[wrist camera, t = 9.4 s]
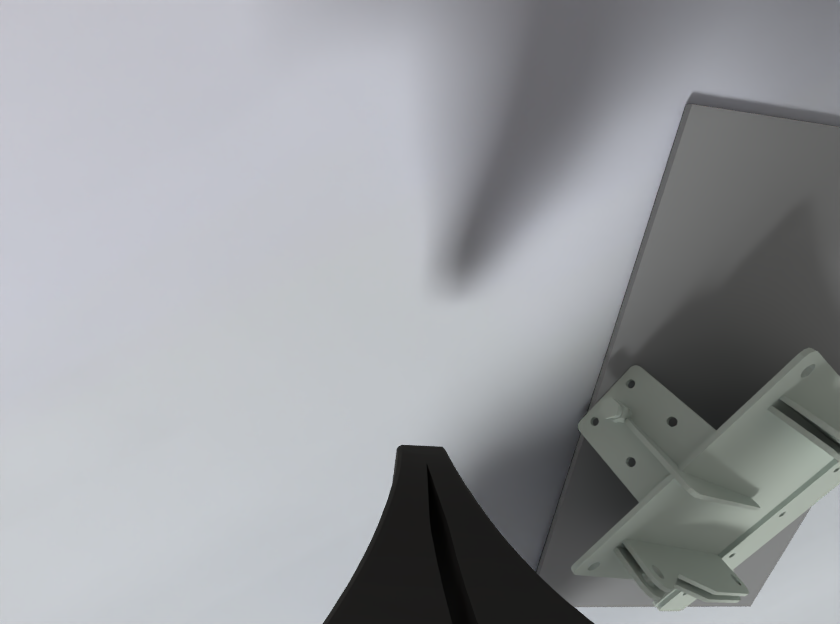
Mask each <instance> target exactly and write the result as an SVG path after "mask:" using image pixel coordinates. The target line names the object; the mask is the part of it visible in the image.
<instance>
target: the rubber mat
mask: <svg viewBox="0 0 840 624" xmlns="http://www.w3.org/2000/svg"><path fill="white" fill-rule="evenodd" d="M807 348H812V349H814V350H816V351H818V352H819V353H820V354H821V356H822V357H823V358H824V359H825V360H826V361H827V363H828V364H829V365H830V366H831V367H832V368H833V369H834V371H835V372H836V373H837V374H838V375H839V376H840V127H838V126H831V125H825V124H818V123H812V122H805V121H799V120H792V119H786V118H780V117H773V116H767V115H760V114H754V113H747V112H741V111H734V110H728V109H721V108H715V107H708V106H702V105H695V104H687V105H686V107H685V110H684V113H683V116H682V119H681V122H680V125H679V128H678V132H677V135H676V138H675V141H674V144H673V147H672V150H671V153H670V157H669V160H668V163H667V166H666V169H665V172H664V175H663V178H662V182H661V185H660V188H659V191H658V194H657V197H656V200H655V203H654V206H653V210H652V213H651V216H650V219H649V222H648V225H647V228H646V231H645V235H644V238H643V241H642V244H641V247H640V250H639V253H638V256H637V260H636V263H635V266H634V269H633V272H632V275H631V278H630V281H629V285H628V288H627V291H626V294H625V297H624V300H623V303H622V306H621V309H620V313H619V316H618V319H617V322H616V325H615V328H614V331H613V334H612V338H611V341H610V344H609V347H608V350H607V353H606V356H605V359H604V363H603V366H602V369H601V372H600V375H599V378H598V381H597V384H596V388H595V391H594V394H593V397H592V400H591V403H590V406H589V409H588V412H589V411H590V410H591V409H592V408H593V407H594V406H595V404H596V403H597V402H598V401H599V400H600V399H601V398H602V397H603V396H604V395H605V394H606V393H607V392H608V391H609V390H610V388H611V387H612V386H613V385H614V384H615V383H616V382H617V381H618V380H619V379H620V378H621V377H622V376H623V375H624V374H625V372H626V371H627V370H628V369H629V368H630V367H632V366H634V365H638V366H640V367H642V368H643V369H644V370H645V371H647V372H648V373H649V374H650V375H651V376H653V377H654V378H655V379H656V380H657V381H658V382H660V383H661V384H662V385H663V386H664V387H666V388H667V389H668V390H669V391H670V392H672V393H673V394H674V395H675V396H676V397H677V398H679V399H680V400H681V401H682V402H683V403H685V404H686V405H687V406H688V407H689V408H690V409H692V410H693V411H694V412H695V413H696V414H698V415H699V416H700V417H701V418H702V419H703V420H705V421H706V422H707V423H708V424H709V425H711V426H712V427H713V428H714V429H715V430H717V429H719V428H720V427H721V426H722V425H723V424H724V423H725V422H726V421H727V420H728V419H729V418H730V417H731V416H732V415H734V414H735V413H736V412H737V411H738V410H739V409H740V408H741V407H742V406H743V405H744V404H745V403H746V402H747V401H748V400H750V399H751V398H752V397H753V396H754V395H755V394H756V393H757V392H758V391H759V390H760V389H761V388H762V387H763V386H765V385H766V384H767V383H768V382H769V381H770V380H771V379H772V378H773V377H774V376H775V375H776V374H777V373H778V372H780V371H781V370H782V369H783V368H784V367H785V366H786V365H787V364H788V363H789V362H790V361H791V360H792V359H793V358H795V357H796V356H797V355H798V354H799V353H800V352H801V351H803V350H804V349H807ZM805 369H806V368H805ZM805 369H804V370H805ZM634 386H635V381H630V382H629V384H628V387H629V388H633V387H634ZM588 412H587V413H588ZM598 423H599V420H598V418H595V419H594V420H593V425H594V426H596V425H598ZM669 425H670V427H674V426H676V425H677V419H676V418H671V419H670V420H669ZM628 464H629V466H630V467H634V466H635V464H636V461H635V459H634V458H630V459H629V461H628ZM638 503H639V502H638V501H637V499H636V498H635V497H634V496H633V495H632V493H631V492H630V491H629V490H628V489H627V487H626V486H625V485H624V484H623V483H622V481H621V480H620V479H619V478H618V477H617V475H616V474H615V473H614V472H613V471H612V469H611V468H610V467H609V466H608V465H607V463H606V462H605V461H604V460H603V459H602V457H601V456H600V455H599V454H598V453H597V451H596V450H595V449H594V448H593V447H592V445H591V444H590V443H589V442H588V441H587V439H586V438H585V437H584V436H583V435H582V433H581V434H580V437H579V441H578V444H577V447H576V450H575V453H574V456H573V459H572V462H571V466H570V469H569V472H568V475H567V478H566V481H565V484H564V487H563V491H562V494H561V497H560V500H559V503H558V506H557V509H556V512H555V515H554V519H553V522H552V525H551V528H550V531H549V534H548V537H547V540H546V544H545V547H544V550H543V553H542V556H541V559H540V562H539V565H538V569H537V572H536V573H537V574H538V575H539V576H540V577H541V578H542V579H543V580H544V581H545V582H546V583H548V584H549V585H550V586H551V587H552V588H553V589H554V590H555V591H556V592H557V593H558V594H559V595H560V596H562V597H563V598H564V599H565V600H566V601H567V602H569V603H570V604H571V605H572V606H573V607H655V606H654V604H653V601H654V600H653V599H652V598H650V597H649V596H648V595H647V594H645V592H644V591H643V590H642V589H641V588H640V587H639V586H638V584H637V583H636V582H635V580H634V579H622V578H609V577H595V576H582V575H575V574H574V573H573V572H572V570H571V567H572V565H573V564H574V563H575V562H576V561H577V560H578V559H579V558H580V557H582V556H583V555H584V554H585V553H586V552H587V551H588V550H589V549H590V548H591V547H592V546H593V545H594V544H595V543H597V542H598V541H599V540H600V539H601V538H602V537H603V536H604V535H605V534H606V533H607V532H608V531H609V530H610V529H612V528H613V527H614V526H615V525H616V524H617V523H618V522H619V521H620V520H621V519H622V518H623V517H624V516H625V515H626V514H628V513H629V512H630V511H631V510H632V509H633V508H634V507H635V506H636V505H637V504H638ZM811 507H812V506H811ZM811 507H810V508H811ZM810 508H809V509H808V510H806V511H805V512H804V513H803V514H801V515H800V516H799V517H798V518H796V519H795V520H794V521H793V522H792V523H790V524H789V525H788V526H787V527H785V528H784V529H783V530H782V531H780V532H779V533H778V534H777V535H775V536H774V537H773V538H772V539H770V540H769V541H768V542H767V543H765V544H764V545H763V546H762V547H760V548H759V549H758V550H757V551H756V552H754V553H753V554H752V555H751V556H749V557H748V558H747V559H746V560H744V561H743V562H742V563H741V564H739V565H738V566H737V567H736V568H734V569H733V572H734V573H735V574H736V575H737V576H738V578H739V579H740V580H741V581H742V582H743V583H744V584H745V586H746V587H747V589H748V590H749V594H748V595H746V596H740V598H741V600H740V601H739V602H737V603H718V602H704V601H701V600H699V599H696V600H695V601H693V602H692V603H691V604H690V605H688V606H687V607H715V606H751V605H752V603H753V601H754V600H755V598H756V596H757V595H758V593H759V591H760V590H761V588H762V587H763V585H764V583H765V582H766V580H767V578H768V577H769V575H770V574H771V572H772V570H773V569H774V567H775V565H776V564H777V562H778V560H779V559H780V557H781V556H782V554H783V552H784V551H785V549H786V547H787V546H788V544H789V542H790V541H791V539H792V538H793V536H794V534H795V533H796V531H797V529H798V528H799V526H800V525H801V523H802V521H803V520H804V518H805V516H806V515H807V513H808V511H809V510H810Z"/></svg>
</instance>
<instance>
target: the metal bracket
mask: <svg viewBox="0 0 840 624" xmlns="http://www.w3.org/2000/svg"><path fill="white" fill-rule="evenodd" d="M805 368H806V369H805ZM804 369H805V370H804ZM630 381H635V386H634V387H633V388H629V387H628V384H629V382H630ZM595 418H598V420H599V423H598V425H596V426H594V425H593V420H594V419H595ZM671 418H676V419H677V425H676V426H674V427H670V425H669V420H670V419H671ZM578 429H579V431H580V432H581V433H582V435H583V436H584V437H585V438H586V439H587V441H588V442H589V443H590V444H591V445H592V447H593V448H594V449H595V450H596V451H597V453H598V454H599V455H600V456H601V457H602V459H603V460H604V461H605V462H606V463H607V465H608V466H609V467H610V468H611V469H612V471H613V472H614V473H615V474H616V475H617V477H618V478H619V479H620V480H621V481H622V483H623V484H624V485H625V486H626V487H627V489H628V490H629V491H630V492H631V493H632V495H633V496H634V497H635V498H636V499H637V501H638V502H639V503H638V504H637V505H636V506H635V507H634V508H633V509H632V510H631V511H630V512H629V513H628V514H626V515H625V516H624V517H623V518H622V519H621V520H620V521H619V522H618V523H617V524H616V525H615V526H614V527H613V528H612V529H610V530H609V531H608V532H607V533H606V534H605V535H604V536H603V537H602V538H601V539H600V540H599V541H598V542H597V543H595V544H594V545H593V546H592V547H591V548H590V549H589V550H588V551H587V552H586V553H585V554H584V555H583V556H582V557H580V558H579V559H578V560H577V561H576V562H575V563H574V564H573V565H572V567H571V570H572V572H573V573H574V574H575V575H582V576H595V577H609V578H622V579H634V580H635V582H636V583H637V584H638V586H639V587H640V588H641V589H642V590H643V591H644V592H645V594H647V595H648V596H649V597H650V598H652V599H653V600H654V601H653V604H654V606H655V607H657V608H658V610H659V611H681V610H683V609H685V608H686V607H687V606H688V605H690V604H691V603H692V602H693V601H695V600H696V599H699V600H701V601H704V602H718V603H737V602H739V601H740V600H741V598H740V596H746V595H748V594H749V590H748V589H747V587H746V586H745V584H744V583H743V582H742V581H741V580H740V579H739V578H738V576H737V575H736V574H735V573H734V572H733V569H734V568H736V567H737V566H738V565H739V564H741V563H742V562H743V561H744V560H746V559H747V558H748V557H749V556H751V555H752V554H753V553H754V552H756V551H757V550H758V549H759V548H760V547H762V546H763V545H764V544H765V543H767V542H768V541H769V540H770V539H772V538H773V537H774V536H775V535H777V534H778V533H779V532H780V531H782V530H783V529H784V528H785V527H787V526H788V525H789V524H790V523H792V522H793V521H794V520H795V519H796V518H798V517H799V516H800V515H801V514H803V513H804V512H805V511H806V510H808V509H809V508H810V507H811V506H813V505H814V504H815V503H816V502H818V501H819V500H820V499H821V498H823V497H824V496H825V495H826V494H828V493H829V492H830V491H831V490H832V489H834V488H835V487H836V486H837V485H839V484H840V376H839V375H838V374H837V373H836V372H835V371H834V369H833V368H832V367H831V366H830V365H829V364H828V363H827V361H826V360H825V359H824V358H823V357H822V356H821V354H820V353H819V352H818V351H816V350H814V349H812V348H807V349H804V350H803V351H801V352H800V353H799V354H798V355H797V356H796V357H795V358H793V359H792V360H791V361H790V362H789V363H788V364H787V365H786V366H785V367H784V368H783V369H782V370H781V371H780V372H778V373H777V374H776V375H775V376H774V377H773V378H772V379H771V380H770V381H769V382H768V383H767V384H766V385H765V386H763V387H762V388H761V389H760V390H759V391H758V392H757V393H756V394H755V395H754V396H753V397H752V398H751V399H750V400H748V401H747V402H746V403H745V404H744V405H743V406H742V407H741V408H740V409H739V410H738V411H737V412H736V413H735V414H734V415H732V416H731V417H730V418H729V419H728V420H727V421H726V422H725V423H724V424H723V425H722V426H721V427H720V428H719V429H717V430H715V429H714V428H713V427H712V426H711V425H709V424H708V423H707V422H706V421H705V420H703V419H702V418H701V417H700V416H699V415H698V414H696V413H695V412H694V411H693V410H692V409H690V408H689V407H688V406H687V405H686V404H685V403H683V402H682V401H681V400H680V399H679V398H677V397H676V396H675V395H674V394H673V393H672V392H670V391H669V390H668V389H667V388H666V387H664V386H663V385H662V384H661V383H660V382H658V381H657V380H656V379H655V378H654V377H653V376H651V375H650V374H649V373H648V372H647V371H645V370H644V369H643V368H642V367H640V366H638V365H634V366H632V367H630V368H629V369H628V370H627V371H626V372H625V374H624V375H623V376H622V377H621V378H620V379H619V380H618V381H617V382H616V383H615V384H614V385H613V386H612V387H611V388H610V390H609V391H608V392H607V393H606V394H605V395H604V396H603V397H602V398H601V399H600V400H599V401H598V402H597V403H596V404H595V406H594V407H593V408H592V409H591V410H590V411H589V412H588V413H587V414H586V415H585V416H584V417H583V418H582V419H581V420H580V422H579V424H578ZM630 458H634V459H635V461H636V464H635V466H634V467H630V466H629V464H628V461H629V459H630Z"/></svg>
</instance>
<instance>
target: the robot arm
mask: <svg viewBox="0 0 840 624" xmlns="http://www.w3.org/2000/svg"><path fill="white" fill-rule="evenodd" d="M323 624H594V623H593V622H592V621H590V620H589V619H588V618H586V617H585V616H584V615H583V614H582V613H580V612H579V611H578V610H577V609H576V608H574V607H573V606H572V605H571V604H570V603H569V602H567V601H566V600H565V599H564V598H563V597H562V596H560V595H559V594H558V593H557V592H556V591H555V590H554V589H553V588H552V587H551V586H550V585H549V584H548V583H546V582H545V581H544V580H543V579H542V578H541V577H540V576H539V575H538V574H537V573H536V572H535V571H534V570H533V569H532V568H531V567H530V566H529V565H528V564H527V563H526V562H525V561H524V560H523V559H522V558H521V557H520V555H519V554H518V553H517V552H516V551H515V550H514V549H513V548H512V546H511V545H510V544H509V543H508V542H507V541H506V539H505V538H504V537H503V536H502V535H501V533H500V532H499V531H498V530H497V528H496V527H495V526H494V525H493V523H492V522H491V521H490V519H489V518H488V517H487V515H486V514H485V513H484V511H483V510H482V508H481V507H480V506H479V504H478V503H477V501H476V500H475V498H474V497H473V495H472V494H471V492H470V491H469V489H468V488H467V486H466V485H465V483H464V482H463V480H462V478H461V477H460V475H459V473H458V472H457V470H456V468H455V467H454V465H453V463H452V461H451V460H450V458H449V456H448V454H447V452H446V450H445V449H444V448H443V447H435V446H414V445H401V446H399V447H398V448H397V453H396V460H395V468H394V475H393V483H392V487H391V490H390V494H389V497H388V500H387V503H386V506H385V508H384V511H383V513H382V516H381V519H380V521H379V524H378V526H377V529H376V531H375V533H374V535H373V538H372V540H371V542H370V544H369V546H368V548H367V550H366V552H365V554H364V556H363V558H362V560H361V562H360V564H359V565H358V567H357V569H356V571H355V573H354V575H353V576H352V578H351V580H350V582H349V583H348V585H347V587H346V588H345V590H344V592H343V593H342V595H341V596H340V598H339V599H338V601H337V603H336V604H335V606H334V607H333V609H332V611H331V612H330V614H329V615H328V617H327V618H326V620H325V621H324V623H323Z"/></svg>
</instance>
